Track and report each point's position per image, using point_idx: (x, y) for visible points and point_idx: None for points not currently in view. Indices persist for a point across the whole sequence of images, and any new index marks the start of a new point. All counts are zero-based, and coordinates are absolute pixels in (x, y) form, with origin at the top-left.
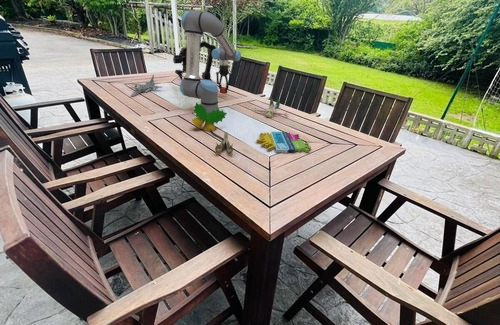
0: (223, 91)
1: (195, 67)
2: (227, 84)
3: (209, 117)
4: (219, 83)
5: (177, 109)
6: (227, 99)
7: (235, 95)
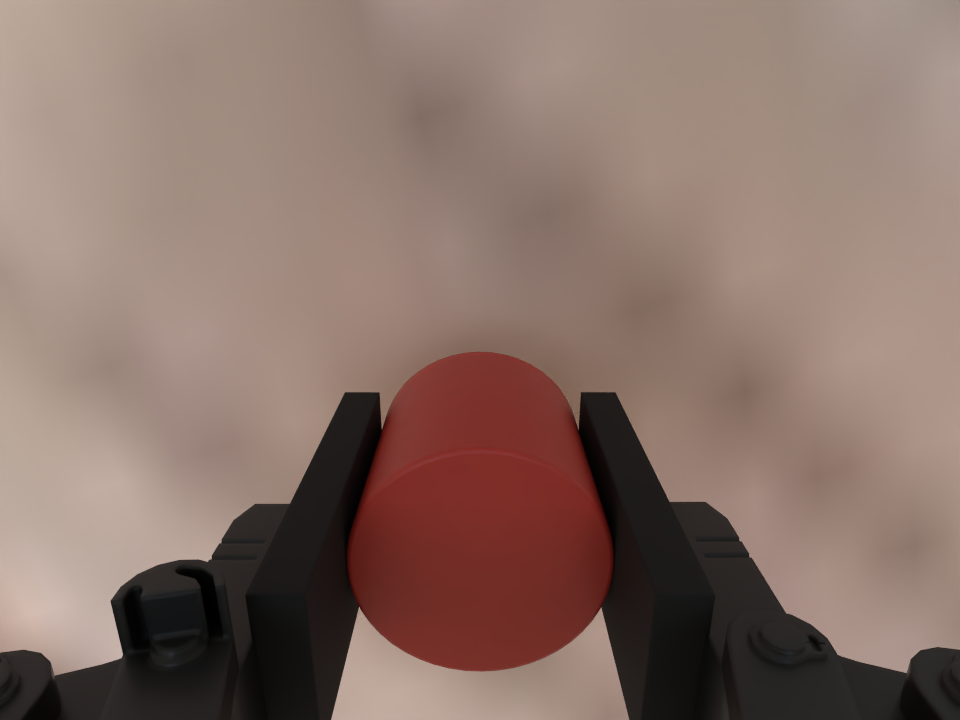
0: (462, 384)
1: None
2: (151, 684)
3: None
4: (809, 701)
5: None
6: (256, 57)
7: None
